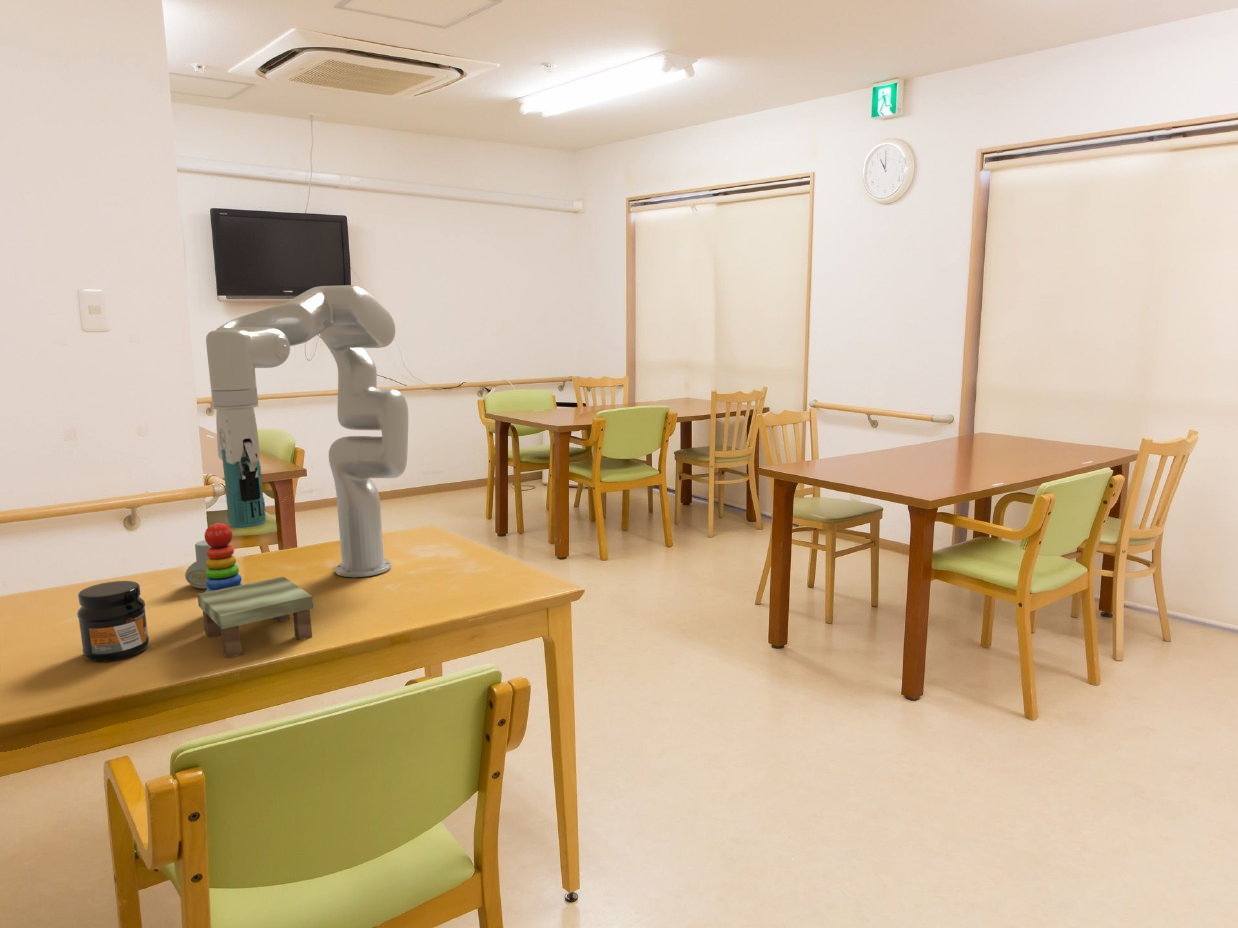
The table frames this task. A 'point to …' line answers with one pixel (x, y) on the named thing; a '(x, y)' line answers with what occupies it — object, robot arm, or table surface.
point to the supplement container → (112, 621)
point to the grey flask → (199, 566)
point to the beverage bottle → (238, 510)
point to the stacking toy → (220, 559)
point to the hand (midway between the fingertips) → (244, 496)
